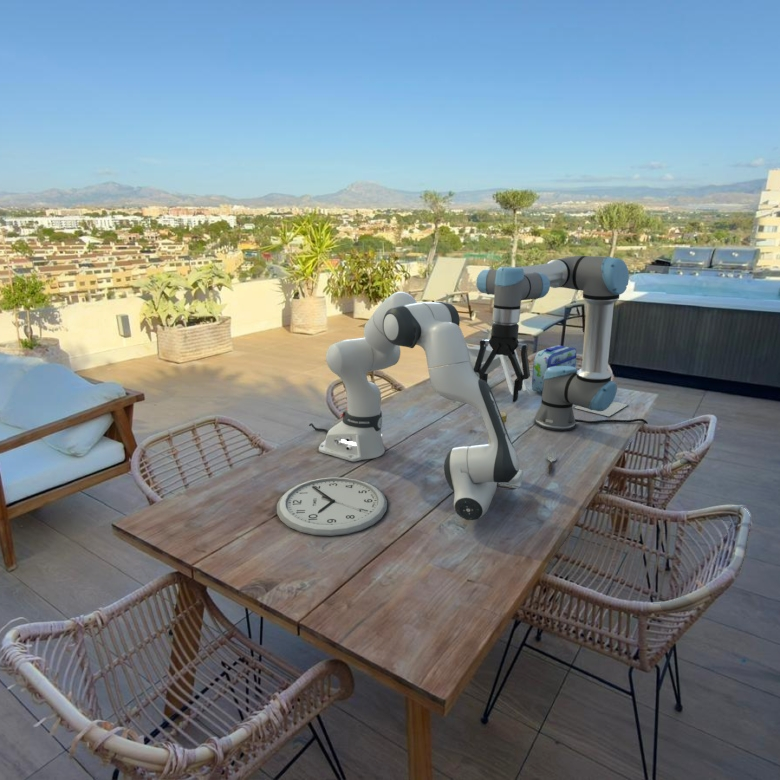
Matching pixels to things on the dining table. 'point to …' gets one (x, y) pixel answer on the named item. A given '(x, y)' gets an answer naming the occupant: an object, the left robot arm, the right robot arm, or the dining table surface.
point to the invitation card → (609, 411)
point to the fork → (551, 460)
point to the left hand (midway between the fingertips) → (490, 462)
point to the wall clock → (331, 506)
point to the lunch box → (551, 363)
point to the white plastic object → (495, 365)
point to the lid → (503, 416)
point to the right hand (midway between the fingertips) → (499, 397)
